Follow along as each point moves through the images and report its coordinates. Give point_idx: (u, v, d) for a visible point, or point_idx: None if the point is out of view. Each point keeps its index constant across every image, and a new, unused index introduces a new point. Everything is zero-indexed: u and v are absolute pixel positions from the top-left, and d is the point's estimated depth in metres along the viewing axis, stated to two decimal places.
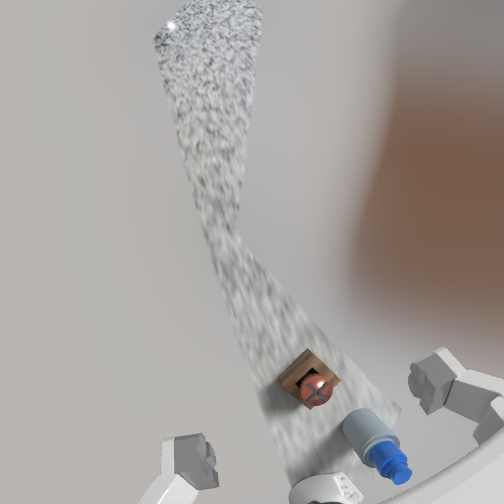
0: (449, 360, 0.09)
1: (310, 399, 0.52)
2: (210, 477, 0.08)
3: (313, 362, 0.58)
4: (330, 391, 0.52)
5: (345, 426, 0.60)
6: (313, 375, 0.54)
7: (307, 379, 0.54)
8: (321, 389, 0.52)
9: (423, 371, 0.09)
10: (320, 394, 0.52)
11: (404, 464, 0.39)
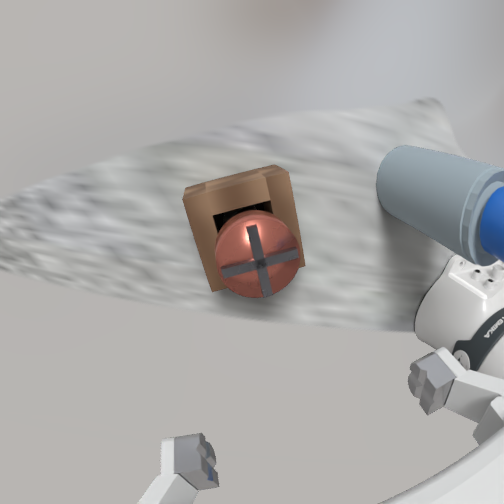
0: (449, 360, 0.09)
1: (265, 286, 0.22)
2: (210, 477, 0.08)
3: (203, 207, 0.25)
4: (281, 231, 0.21)
5: (392, 211, 0.31)
6: (217, 239, 0.22)
7: None
8: (257, 251, 0.21)
9: (423, 371, 0.09)
10: (269, 259, 0.21)
11: None
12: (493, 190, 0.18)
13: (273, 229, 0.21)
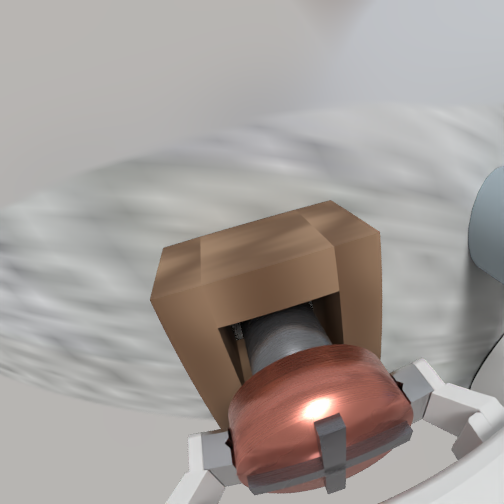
0: (427, 372, 0.09)
1: (334, 485, 0.08)
2: None
3: (197, 314, 0.11)
4: (389, 408, 0.07)
5: (488, 268, 0.17)
6: (236, 417, 0.08)
7: None
8: (333, 458, 0.07)
9: (399, 383, 0.09)
10: (354, 459, 0.07)
11: None
12: None
13: (375, 411, 0.07)
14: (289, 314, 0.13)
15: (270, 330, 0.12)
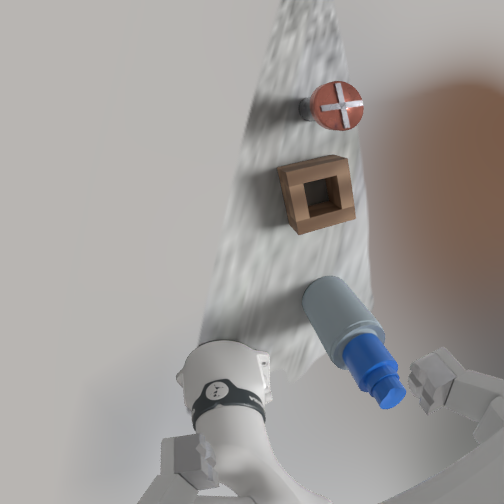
0: (449, 360, 0.09)
1: (345, 121, 0.31)
2: (210, 477, 0.08)
3: (341, 170, 0.40)
4: (352, 89, 0.30)
5: (314, 290, 0.50)
6: (313, 95, 0.32)
7: (313, 106, 0.32)
8: (341, 97, 0.30)
9: (423, 371, 0.09)
10: (347, 103, 0.31)
11: (398, 380, 0.33)
12: None
13: (348, 88, 0.30)
14: None
15: None
